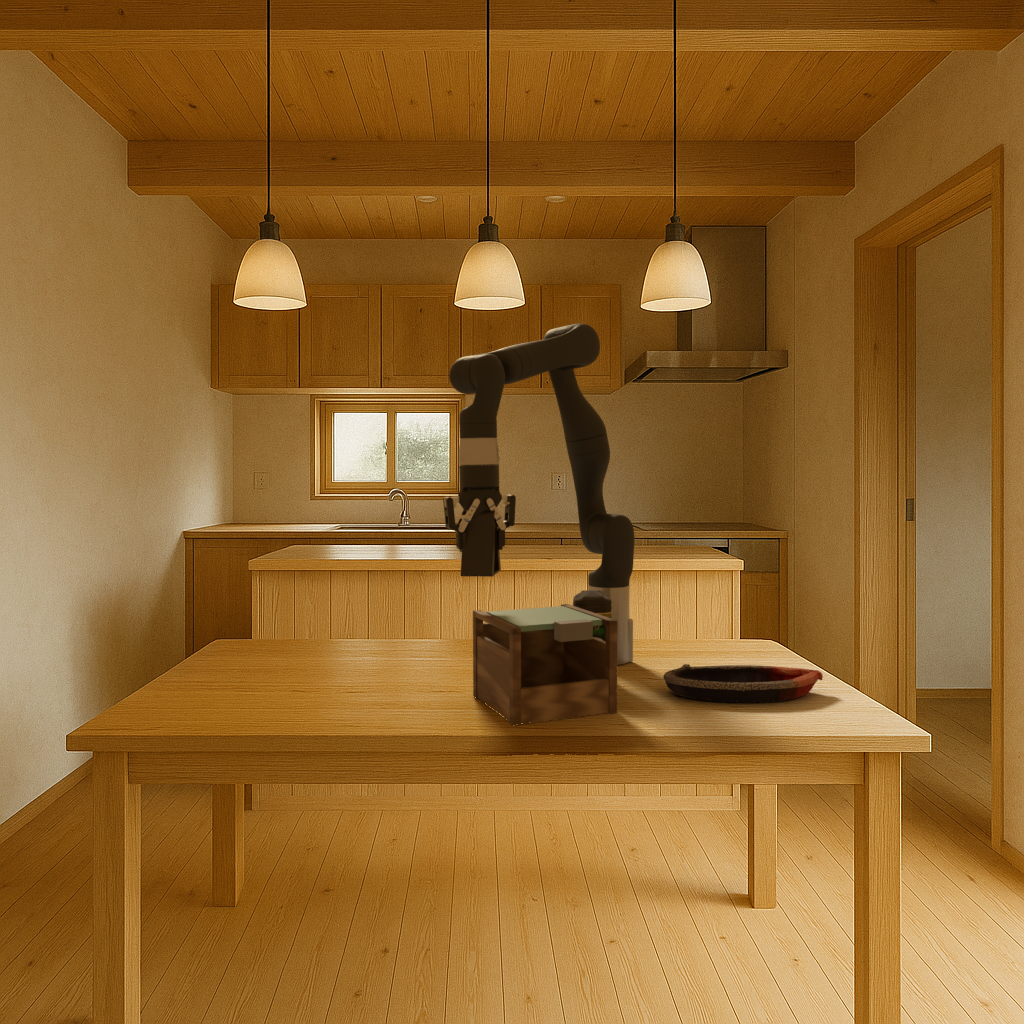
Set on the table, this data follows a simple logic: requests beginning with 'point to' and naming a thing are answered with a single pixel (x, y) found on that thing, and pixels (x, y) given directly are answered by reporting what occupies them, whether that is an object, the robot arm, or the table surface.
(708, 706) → the table surface
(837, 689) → the table surface
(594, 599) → the coffee jar
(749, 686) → the dish
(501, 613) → the trapdoor
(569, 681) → the wooden crate
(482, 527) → the phone stand
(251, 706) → the table surface
